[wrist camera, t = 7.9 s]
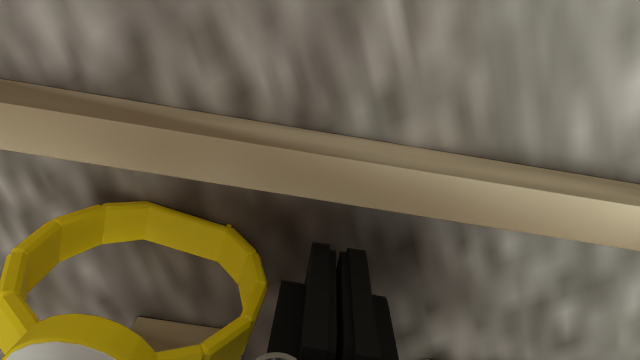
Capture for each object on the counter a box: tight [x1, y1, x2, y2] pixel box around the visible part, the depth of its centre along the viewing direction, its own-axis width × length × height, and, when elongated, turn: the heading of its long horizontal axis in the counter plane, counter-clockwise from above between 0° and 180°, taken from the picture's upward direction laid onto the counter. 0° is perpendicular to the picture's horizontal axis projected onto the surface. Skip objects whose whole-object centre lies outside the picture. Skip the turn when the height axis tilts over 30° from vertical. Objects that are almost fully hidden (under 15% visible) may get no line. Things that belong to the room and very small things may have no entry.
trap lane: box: [0, 79, 640, 360], centre depth 13 cm, size 15×33×2 cm, turn 81°
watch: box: [0, 201, 267, 360], centre depth 9 cm, size 6×3×6 cm, turn 71°
